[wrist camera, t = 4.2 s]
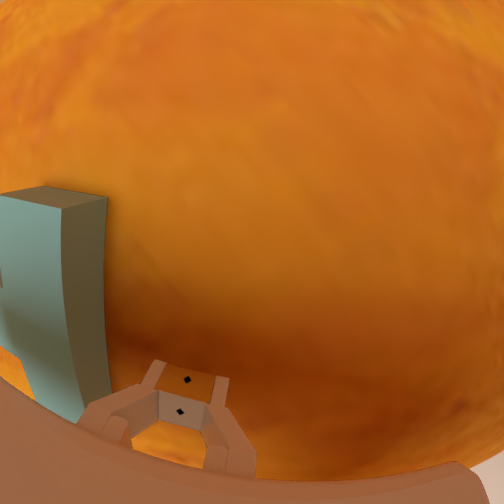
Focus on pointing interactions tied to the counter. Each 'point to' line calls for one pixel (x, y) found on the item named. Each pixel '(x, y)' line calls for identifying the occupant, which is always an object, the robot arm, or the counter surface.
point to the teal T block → (55, 294)
